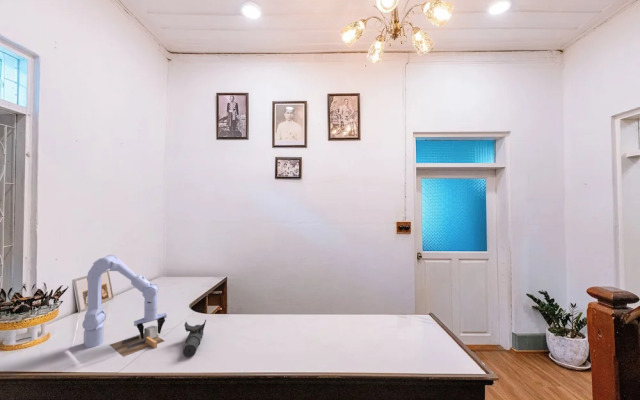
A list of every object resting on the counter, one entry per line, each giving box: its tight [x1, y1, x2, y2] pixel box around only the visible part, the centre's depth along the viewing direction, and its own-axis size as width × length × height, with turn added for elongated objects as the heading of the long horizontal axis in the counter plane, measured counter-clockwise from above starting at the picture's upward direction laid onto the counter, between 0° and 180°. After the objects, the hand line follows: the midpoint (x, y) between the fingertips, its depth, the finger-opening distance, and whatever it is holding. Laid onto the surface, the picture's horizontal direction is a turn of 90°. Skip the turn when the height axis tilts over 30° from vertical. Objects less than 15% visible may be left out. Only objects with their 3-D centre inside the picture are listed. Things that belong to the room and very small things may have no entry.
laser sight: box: [182, 319, 207, 358], centre depth 140 cm, size 10×22×10 cm, turn 14°
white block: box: [143, 325, 158, 339], centre depth 146 cm, size 4×4×5 cm
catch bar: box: [146, 337, 158, 349], centre depth 138 cm, size 9×1×2 cm, turn 53°
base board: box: [109, 332, 165, 358], centre depth 140 cm, size 18×18×2 cm
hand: (150, 335), depth 146 cm, fingers open, 7 cm apart
